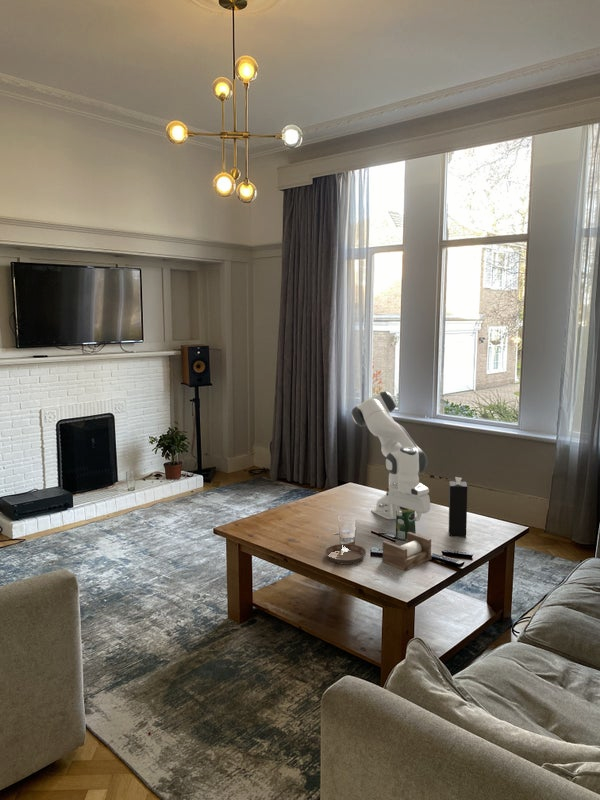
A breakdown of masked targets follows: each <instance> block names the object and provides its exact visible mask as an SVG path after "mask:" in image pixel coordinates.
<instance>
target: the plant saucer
mask: <svg viewBox="0 0 600 800" xmlns="http://www.w3.org/2000/svg"><path fill="white" fill-rule="evenodd" d="M342 545H343V547H344V546H345V547H346V548H348V549H349V550H351V551H348V552H344V553H343V555H337V556H339V557H336V558H340V559H335V558H332V557H329V556H328V555H329V554H330V553H331V552H335V551H340V550H341V549H342ZM336 553H338V552H336ZM324 554H325V556H326V557H327V558H328V559H329V561H331V560H332V561H331V562H333V561H334V562H333V563H335V562H337V563H336V564H340V563H343V564H342V565H352V564H355V563H358V562H360V561H361V560H362V559H363V558H364V557H365V555H366V554H367V551H366V549H365V547H362V546H360V545H358V544H357V545H356V544H354V543H352V544H351V543H339V544H333V545H331V546H329V547H327V548H326V549H325V551H324ZM339 554H341V553H339ZM351 563H352V564H351Z"/></svg>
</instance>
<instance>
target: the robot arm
mask: <svg viewBox="0 0 600 800" xmlns="http://www.w3.org/2000/svg"><path fill="white" fill-rule="evenodd" d="M395 409H396V400H395V397H394V395H393V394H392V393H390V392H388V391H387V390H385V391H382V392H379V393H378V394H376V395H373V396H371V397H369V398H368V399H366V400H365V401H362V402H361V403H360V404H358V405H356V406H354V407H353V408H352V410H351V417H352V420H353V422H354V423H355V424H356V425H358V427H361V428H362V427H367V429H368V430H369V432H370V433H371V434H372V435H373V436H374V437H378V439H379V441H380V444H381V447H380V448H381V449H380V450H381V453H382V455H383V456H384V457H385V459H384V464H385V465H384V466H385V467H384V468H385V469H386V471H387V472H388V473H389V474H388V487H387V488H385V489H384V492H386V493H385V494H384V495H383V496H381V497H379V498H378V499H377V501H376V506H375V507H373V508H372V509H371V512H372V513H374V514H376V515H378V516H380V517H382V518H384V519H386V520H396V511H397V515H398V516H402V511H401V510H400V507H403V508H407V509H410V510H413V511H415V517H414V521H415V522H420V520H421V516H422V515H423V514H427V513H429V511H431V500H430V499H431V498H430V495H429V493H430V489H429V487H427V486H426V485H424V484H423V483H421V482H420V477H419V474H420V473H423V472H424V471H425V469H426V468H427V466H428V463H429V461H428V456H427V454H426V453H425V451H423V450H422V448H420V447H419V446H418V445H417V443H416V441H414V439H413V438H412V437H411V436H410V435H411V434H409V433H408V431H407V430H406V429H405V427H404V426H403V425H401V424H400V423H398V422H397V421H396V420H394V418H393V417H392V414H391V413H392V412H393V411H394V410H395Z"/></svg>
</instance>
